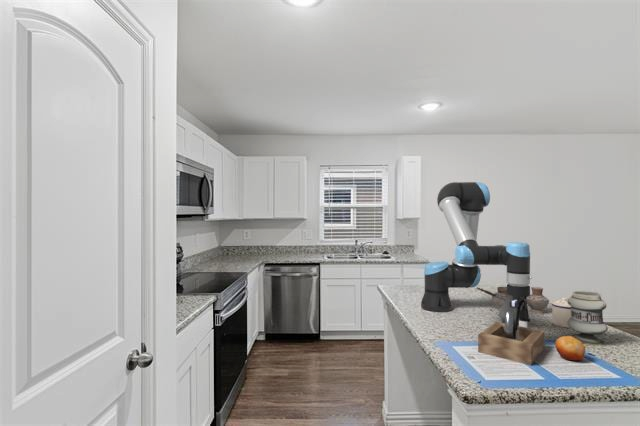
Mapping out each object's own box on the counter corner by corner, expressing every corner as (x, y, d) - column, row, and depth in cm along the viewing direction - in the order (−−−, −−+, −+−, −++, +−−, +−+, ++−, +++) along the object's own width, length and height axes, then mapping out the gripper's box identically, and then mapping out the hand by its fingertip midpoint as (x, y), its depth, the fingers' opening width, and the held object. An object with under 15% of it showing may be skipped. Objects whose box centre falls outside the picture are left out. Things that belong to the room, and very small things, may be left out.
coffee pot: (521, 319, 159) (521, 286, 159) (532, 327, 148) (532, 291, 148) (472, 316, 163) (472, 284, 163) (478, 324, 152) (478, 289, 152)
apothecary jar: (560, 334, 138) (560, 289, 138) (591, 335, 138) (591, 289, 138) (582, 346, 126) (581, 296, 126) (616, 346, 126) (615, 296, 126)
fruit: (577, 349, 119) (582, 332, 116) (585, 369, 113) (590, 352, 109) (550, 346, 122) (553, 330, 118) (556, 365, 116) (560, 349, 112)
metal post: (500, 352, 120) (499, 312, 120) (504, 349, 123) (503, 309, 123) (514, 356, 117) (514, 314, 117) (517, 352, 120) (517, 311, 120)
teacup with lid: (580, 329, 145) (579, 301, 145) (554, 326, 148) (553, 299, 148) (572, 321, 156) (572, 295, 156) (548, 319, 159) (548, 293, 159)
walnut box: (478, 351, 121) (478, 334, 121) (496, 337, 135) (496, 321, 135) (530, 365, 110) (530, 346, 110) (544, 347, 124) (544, 331, 124)
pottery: (551, 316, 165) (551, 290, 165) (493, 310, 174) (492, 286, 174) (546, 310, 175) (546, 286, 175) (490, 305, 184) (490, 282, 184)
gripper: (520, 290, 118) (521, 355, 117) (537, 281, 135) (538, 337, 135) (497, 287, 123) (497, 349, 122) (516, 278, 140) (516, 332, 140)
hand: (518, 343), depth 129 cm, fingers open, 12 cm apart
